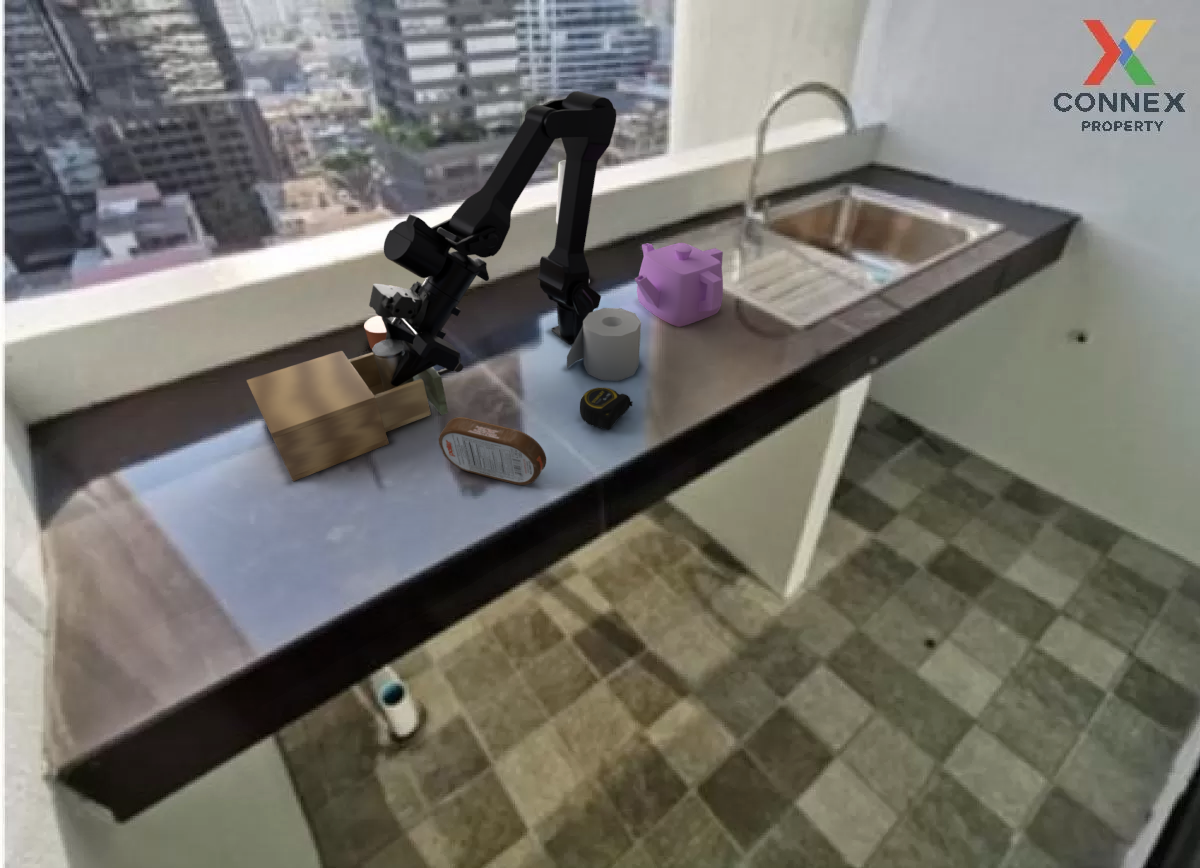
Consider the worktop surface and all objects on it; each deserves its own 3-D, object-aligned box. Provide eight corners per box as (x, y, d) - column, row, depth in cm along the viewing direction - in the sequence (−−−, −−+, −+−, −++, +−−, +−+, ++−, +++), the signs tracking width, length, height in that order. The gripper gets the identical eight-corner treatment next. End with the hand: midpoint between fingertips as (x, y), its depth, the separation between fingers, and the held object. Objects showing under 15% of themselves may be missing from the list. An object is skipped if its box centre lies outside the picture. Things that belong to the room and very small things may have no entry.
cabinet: (356, 395, 98) (341, 350, 92) (389, 443, 89) (375, 396, 83) (267, 426, 92) (246, 380, 86) (293, 481, 83) (270, 433, 77)
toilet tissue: (555, 368, 104) (553, 324, 98) (618, 345, 109) (619, 302, 104) (584, 394, 98) (583, 349, 92) (649, 368, 104) (651, 324, 98)
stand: (413, 344, 110) (409, 325, 107) (377, 356, 106) (371, 337, 104) (399, 329, 114) (395, 310, 111) (364, 340, 111) (358, 320, 108)
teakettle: (719, 332, 113) (728, 270, 105) (629, 324, 115) (632, 263, 107) (721, 290, 126) (729, 232, 118) (640, 284, 128) (643, 226, 120)
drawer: (442, 363, 103) (435, 328, 99) (477, 401, 95) (471, 365, 91) (339, 398, 96) (327, 362, 91) (368, 443, 87) (356, 406, 83)
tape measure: (608, 437, 90) (609, 418, 87) (571, 421, 93) (570, 402, 90) (632, 413, 94) (633, 394, 92) (595, 399, 97) (595, 380, 95)
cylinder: (423, 389, 95) (412, 343, 89) (403, 406, 91) (390, 359, 86) (399, 382, 96) (387, 335, 91) (379, 397, 93) (365, 351, 88)
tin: (549, 479, 83) (545, 432, 78) (539, 494, 81) (535, 447, 75) (452, 455, 87) (442, 408, 81) (441, 469, 84) (430, 422, 79)
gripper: (373, 241, 88) (319, 329, 91) (424, 289, 77) (361, 389, 79) (433, 277, 97) (382, 357, 99) (487, 325, 85) (428, 414, 88)
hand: (387, 377), depth 91 cm, fingers closed on cylinder, 4 cm apart
